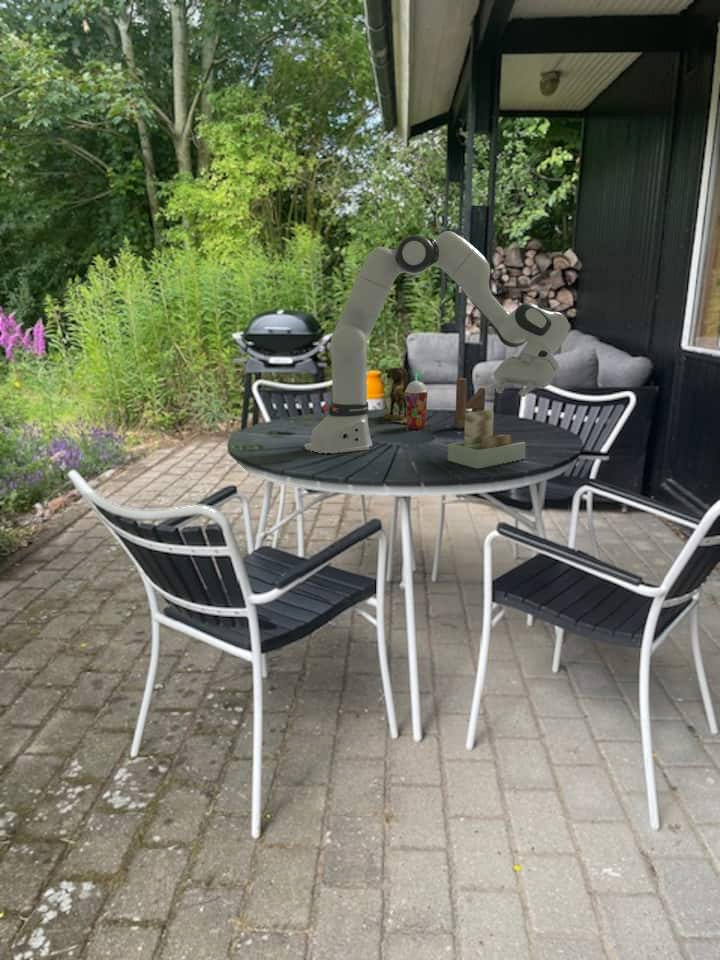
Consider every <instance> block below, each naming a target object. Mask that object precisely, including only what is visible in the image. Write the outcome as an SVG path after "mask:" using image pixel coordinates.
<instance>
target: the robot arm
mask: <svg viewBox="0 0 720 960" xmlns="http://www.w3.org/2000/svg"><path fill="white" fill-rule="evenodd" d="M431 267H437V268H439V269H441V270H442V271H443V272H444V273H446V274H447V275H448V276H449V277H450V279H452V280H453V281H454V282H455V283H456V284H457V285H458V286H459V287H460V289H462V291H463V292H464V293H465V296H466V298H467V299H468V301H470V303H472V305H473V306H474V307H475V308H476V309H477V311H478V312H480V314H481V315H482V316H483V317H484V318H485V320H487V322H488V323H489V324H490V325H491V326H492V328H493V329H494V331H495V332H496V334H497V337H498V339H499V340H500V342H502V344H503V345H505V346H507V347H510V348H518V347H521V346H523V345H524V347H523V348H522V350H521V351H520V353H519V354H518V356H510V357H508V358H506V359H505V360H503V361H502V362H501V363H500V364H499V365H498V367H497V368H496V369H495V370H494V372H493V378H494V379H495V380H496V382H498V383H497V386H496V388H495V391H496V393H497V394H503V392H505V388H504V386H506V385H507V384H510V385H518V386H524V388H520V390H519V391H518V392H517V393H518V395H519V397H522V398H523V397H526V396H527V394H529V393H530V392H531V391H534V389H535V388H541V389H545V388H546V387H548V386H549V385H550V384H551V382H552V381H553V379H554V378H555V375H556V372H558V371H559V370H560V368H561V367H560V365H559V363H558V361H557V360H556V359H555V357H554V354H555V353H556V351H557V350H558V349H560V347H561V345H562V344H563V343H564V341H565V339H566V337H567V335H568V333H569V330H570V324H569V321H568V319H567V317H565V316H564V315H563V314H562V313H560V312H558V311H550V310H549V311H548V310H545V309H542V308H540V306H538V305H537V304H535V303H532V302H525V303H522V304H520V305H519V306H518V307H516V308H515V309H514V310H513V311H512V312H509V311H507V310H506V309H505V308H504V307H503V306H502V304H501V303H500V302H499V301H498V300H497V298H495V297H494V295H493V294H492V292H491V289H490V277H491V276H490V275H491V267H490V264H489V261H488V260H487V258H486V257H485V255H483V253H481V251H479V250H478V249H477V248H476V247H475V246H474V245H473V244H471V243H470V242H469V241H468V240H466V239H465V238H464V237H462V236H460V235H459V234H457V233H456V232H454V231H451V230H446V231H444V232H442V233H440V234H439V235H438V236H436V237H435V239H434V238H431V237H426V236H422V235H415V234H413V235H409V236H407V237H405V238H403V239H402V240H401V241H400V243H399V244H398V246H397V248H395V249H391V248H389V247H385V246H378V247H374V248H373V249H372V250H371V251H370V252H369V253H368V256H367V257H366V259H365V260H364V262H363V264H362V265H361V268H360V270H359V271H358V274H357V276H356V279H355V281H354V283H353V285H352V289H350V293H349V295H348V297H347V300H346V302H345V305H344V307H343V310H342V312H341V313H340V315H339V319H338V321H337V324H336V326H335V328H334V331H333V333H332V335H331V338H330V358H331V377H332V378H331V379H332V380H331V382H332V383H331V384H332V385H331V386H332V388H331V389H332V402H331V404H330V405H329V404H326V403H325V404H322V406H321V408H322V410H323V411H325V412H328V413H327V416H326V417H324V418H323V419H322V420H321V421H320V422H319V423H318V424H317V425H316V426H314V427H313V429H312V431H311V437H310V442H308V443H305V444H304V445H303V448H304V447H305V448H304V449H305V450H306V449H307V450H306V451H309V450H310V451H309V452H312V451H314V452H313V453H315V452H318V453H317V454H321V453H325V454H324V455H328V454H327V453H331V454H339V453H348V452H356V451H358V452H359V451H367V450H369V449H370V447H372V446H373V442H372V438H371V434H370V428H369V419H368V418H369V402H368V392H367V391H368V390H367V389H368V388H367V387H368V385H367V383H368V380H367V379H368V378H367V376H368V375H367V374H368V373H367V372H368V371H367V366H368V365H367V363H368V362H367V361H368V359H367V358H368V357H367V353H368V352H367V350H368V349H367V347H368V345H367V342H368V341H369V338H370V336H371V334H372V331H373V329H374V326H375V325H376V323H377V322H378V319H379V317H380V314H381V312H382V310H383V309H384V308H383V307H384V306H385V303H386V301H387V299H388V297H389V294H390V291H391V290H392V287H393V284H394V283H395V281H396V279H397V277H398V276H400V275H405V276H406V275H407V276H414V277H415V276H416V277H417V276H421V275H422V274H424V273H426V272H427V271H428V270H429V269H430V268H431ZM525 343H526V344H525ZM338 452H339V453H338Z"/></svg>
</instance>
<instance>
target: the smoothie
mask: <svg viewBox="0 0 720 960" xmlns="http://www.w3.org/2000/svg"><path fill="white" fill-rule="evenodd" d="M428 391H429V390H428V389H427V386H426V384H425V383H424V382H422V381H419V380H418V372H416V373H415V380H413V381H411V382H410V383H408V384H407V388H406V390H405V399H406V405H405V410H406V416H407V425H406V426H408V427H407V428H408V429H411V430H422V429H424V428H425V425H426V421H427V405H428Z"/></svg>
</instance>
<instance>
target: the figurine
mask: <svg viewBox="0 0 720 960" xmlns="http://www.w3.org/2000/svg"><path fill="white" fill-rule="evenodd" d="M384 374H386V378H387V379H390V378H391V380H392V383H391V390H390V399H391V400H390V402H391V403H390V411H388V412H386V413H385V414H380V415H379V418H380V417H381V418H380V419H384V420H385V419H386V420H385V421H390V422H391V423H392V422H393V423H392V424H395V423H396V424H395V425H402V426H404V425H405V426H408V425H407V416H406V409H405V410H404V414H403V408H404V404H405V406H406V399H405V390H406V388H407V386H408V376H409V373H408V371H407V369H406V368H405V369H403V367H393V368H392V367H391V368H390V369H389V368H387V369H384ZM395 403H396V404H397V405H398V407H399V408H398V412H394V405H395Z"/></svg>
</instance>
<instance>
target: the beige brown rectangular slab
mask: <svg viewBox="0 0 720 960" xmlns="http://www.w3.org/2000/svg"><path fill="white" fill-rule="evenodd" d="M494 414H495V413H494V410H489V409H485V410H483V411H476V412H472V411H470V412H466V413H465V428H464V436H463V437H464V438H463V439H464V447H465V446H471V445H476V444H482V438H486V437H491V436H494V420H495V419H494V418H495V417H494V416H495V415H494Z"/></svg>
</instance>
